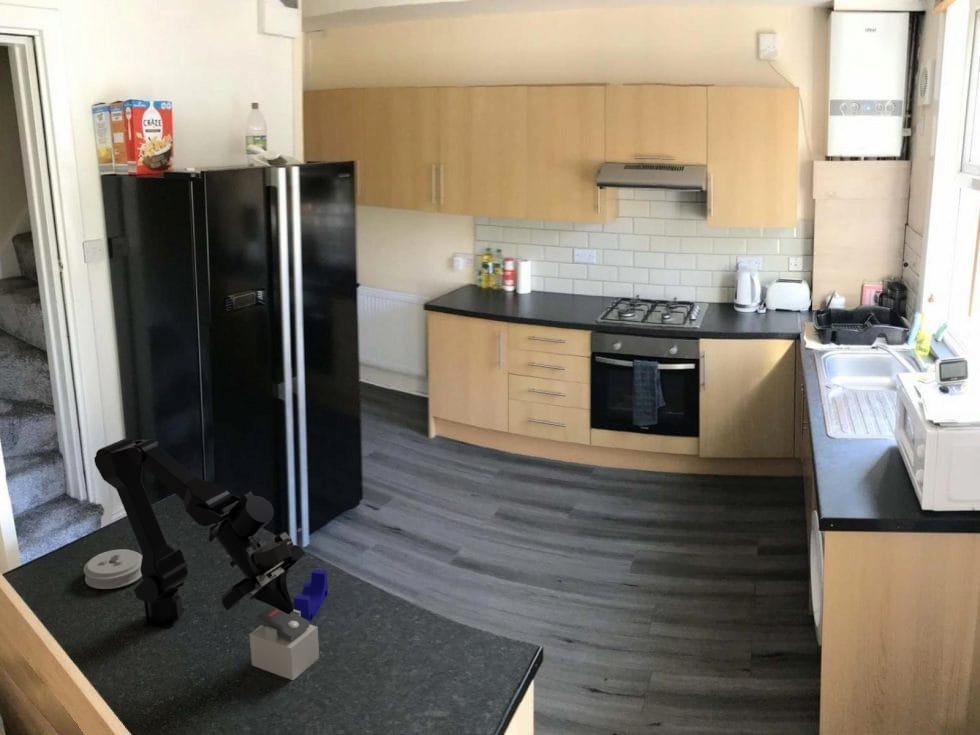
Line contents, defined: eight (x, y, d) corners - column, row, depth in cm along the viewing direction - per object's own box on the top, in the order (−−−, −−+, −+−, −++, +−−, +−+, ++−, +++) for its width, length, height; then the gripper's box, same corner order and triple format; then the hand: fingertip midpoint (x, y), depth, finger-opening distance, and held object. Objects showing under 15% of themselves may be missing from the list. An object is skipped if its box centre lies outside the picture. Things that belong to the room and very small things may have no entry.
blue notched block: (308, 592, 206) (307, 568, 204) (328, 594, 205) (326, 570, 203) (288, 623, 194) (286, 597, 192) (309, 625, 194) (307, 599, 192)
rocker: (255, 621, 178) (256, 616, 177) (275, 607, 183) (276, 601, 182) (290, 641, 175) (291, 636, 174) (309, 626, 179) (310, 621, 179)
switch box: (252, 665, 180) (248, 622, 177) (279, 643, 187) (276, 602, 184) (293, 680, 175) (290, 637, 173) (319, 658, 182) (316, 616, 179)
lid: (73, 582, 209) (70, 562, 208) (121, 559, 219) (118, 539, 218) (110, 598, 203) (107, 578, 201) (157, 573, 213) (155, 553, 212)
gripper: (228, 547, 166) (280, 618, 165) (295, 507, 182) (344, 571, 180) (199, 576, 172) (249, 644, 170) (266, 534, 188) (313, 596, 186)
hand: (291, 612), depth 177 cm, fingers closed
